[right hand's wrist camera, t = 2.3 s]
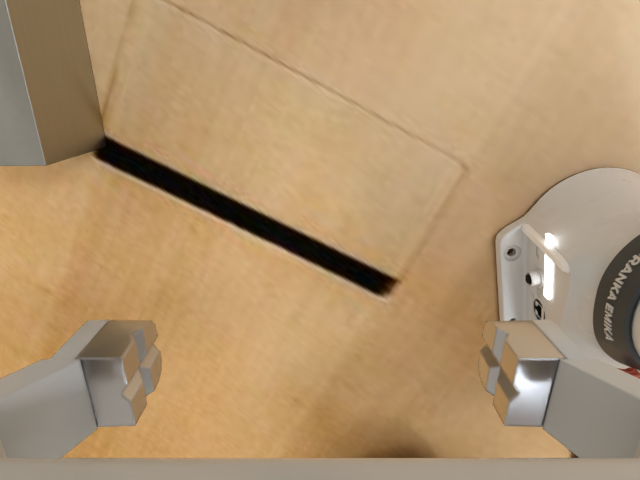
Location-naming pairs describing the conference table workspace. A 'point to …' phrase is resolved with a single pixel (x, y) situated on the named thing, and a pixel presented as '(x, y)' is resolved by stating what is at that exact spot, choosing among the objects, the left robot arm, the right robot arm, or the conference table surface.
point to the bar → (46, 84)
